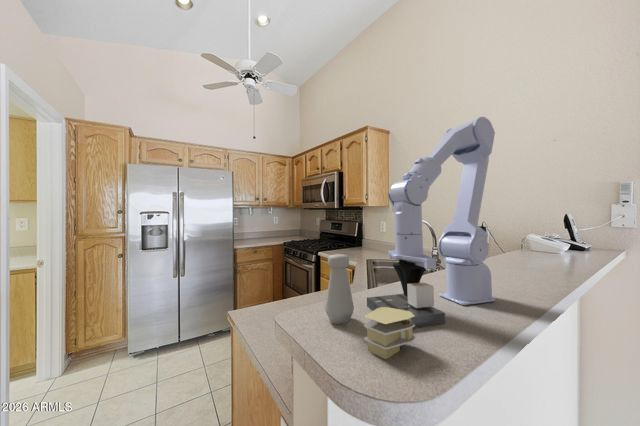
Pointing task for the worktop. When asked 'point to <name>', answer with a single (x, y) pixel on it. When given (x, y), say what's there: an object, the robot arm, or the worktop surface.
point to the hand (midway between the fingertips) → (410, 296)
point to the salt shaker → (339, 291)
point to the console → (408, 309)
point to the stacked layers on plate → (388, 330)
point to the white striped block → (420, 295)
